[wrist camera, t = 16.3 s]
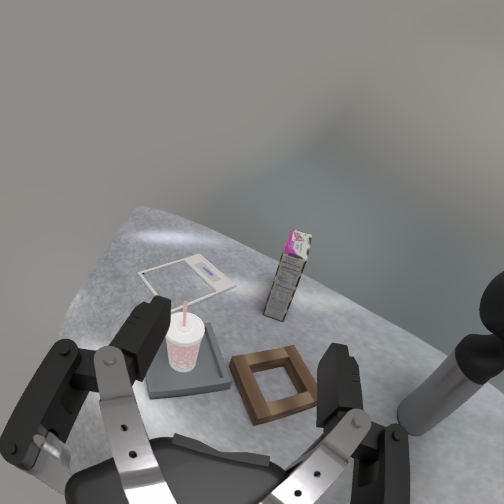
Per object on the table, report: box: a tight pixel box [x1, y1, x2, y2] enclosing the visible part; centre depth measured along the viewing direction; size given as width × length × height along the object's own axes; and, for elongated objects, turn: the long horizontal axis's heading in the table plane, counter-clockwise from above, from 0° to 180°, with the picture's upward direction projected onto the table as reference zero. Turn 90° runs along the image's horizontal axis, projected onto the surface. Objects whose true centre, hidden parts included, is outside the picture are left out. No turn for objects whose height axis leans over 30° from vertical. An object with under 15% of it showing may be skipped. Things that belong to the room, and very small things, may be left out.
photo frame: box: [138, 254, 236, 314], centre depth 61 cm, size 15×1×18 cm
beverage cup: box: [166, 301, 205, 372], centre depth 38 cm, size 6×6×14 cm
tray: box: [146, 323, 232, 399], centre depth 42 cm, size 13×13×2 cm
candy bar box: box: [263, 229, 312, 322], centre depth 57 cm, size 11×5×16 cm, turn 164°
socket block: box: [229, 345, 317, 426], centre depth 41 cm, size 12×12×3 cm
